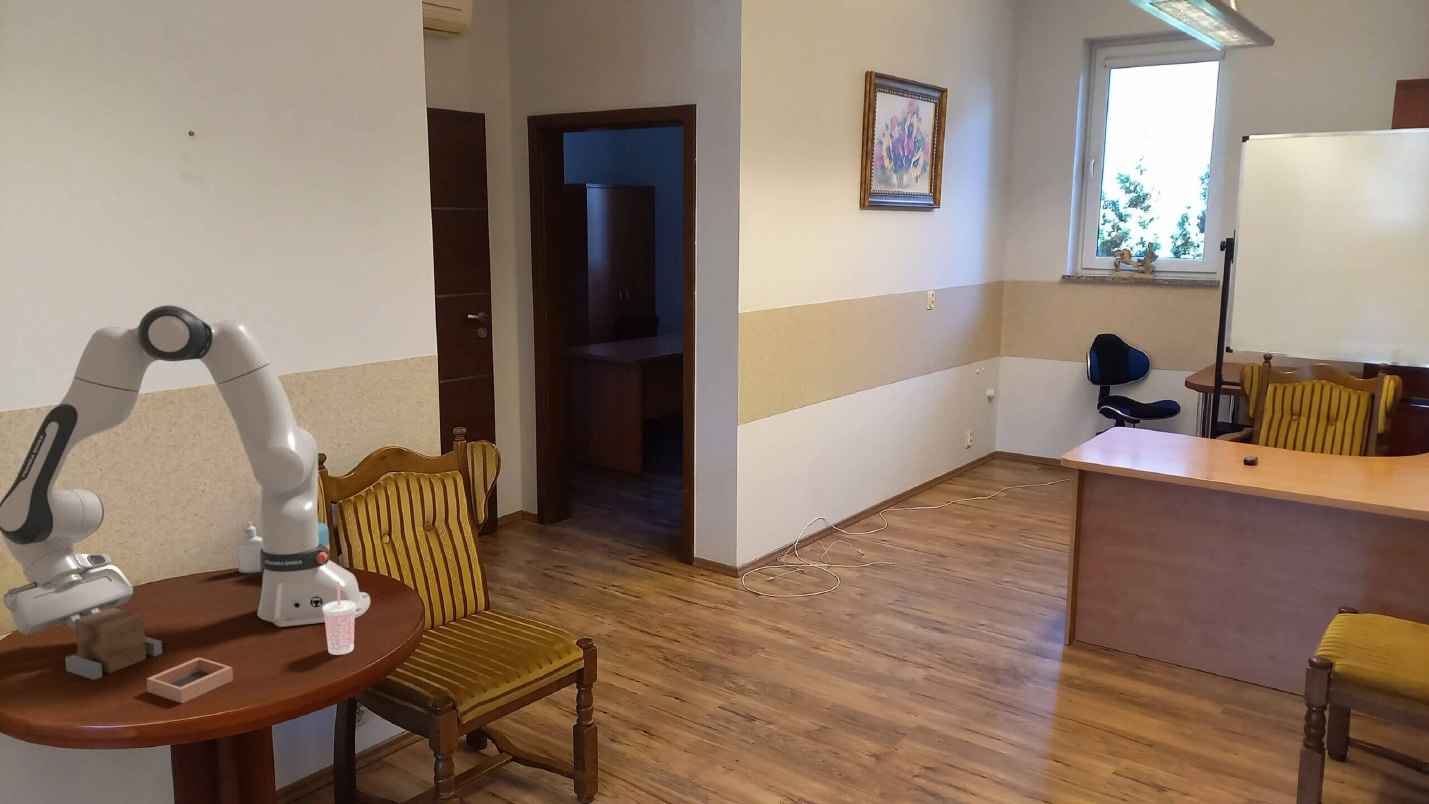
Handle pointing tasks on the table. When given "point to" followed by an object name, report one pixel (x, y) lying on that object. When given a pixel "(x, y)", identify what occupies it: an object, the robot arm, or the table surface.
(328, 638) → the beverage cup
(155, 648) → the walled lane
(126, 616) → the walnut block
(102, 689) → the table surface
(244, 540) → the eye dropper bottle
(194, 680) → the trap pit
